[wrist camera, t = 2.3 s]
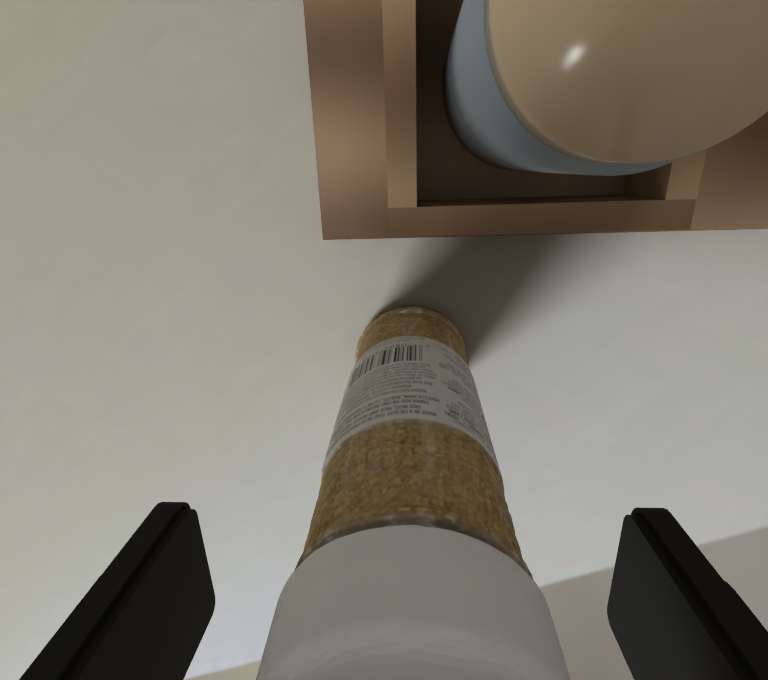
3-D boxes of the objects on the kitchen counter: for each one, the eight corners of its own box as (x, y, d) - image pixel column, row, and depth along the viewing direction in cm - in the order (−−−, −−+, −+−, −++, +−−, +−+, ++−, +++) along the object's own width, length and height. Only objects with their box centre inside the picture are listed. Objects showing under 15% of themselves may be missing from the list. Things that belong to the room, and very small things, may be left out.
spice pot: (443, -18, 12) (489, -291, 5) (628, -29, 12) (976, -342, 5) (440, 173, 14) (472, 183, 7) (601, 168, 14) (818, 171, 6)
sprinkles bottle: (366, 408, 19) (282, 853, 7) (348, 308, 18) (194, 655, 5) (472, 397, 19) (589, 858, 6) (463, 294, 17) (598, 640, 5)
